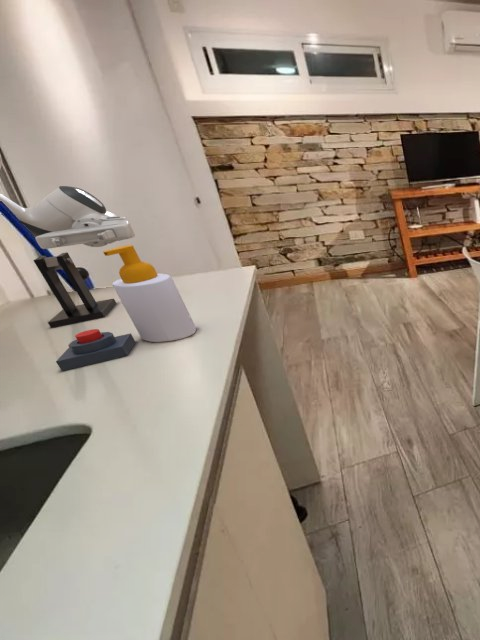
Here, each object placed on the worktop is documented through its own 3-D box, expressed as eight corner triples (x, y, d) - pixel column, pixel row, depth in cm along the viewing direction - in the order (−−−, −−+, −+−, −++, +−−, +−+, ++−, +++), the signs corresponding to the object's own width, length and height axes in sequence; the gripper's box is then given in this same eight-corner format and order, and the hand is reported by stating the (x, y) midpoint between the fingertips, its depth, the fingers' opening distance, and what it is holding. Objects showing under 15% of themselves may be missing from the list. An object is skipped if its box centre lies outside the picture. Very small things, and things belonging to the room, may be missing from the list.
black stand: (67, 313, 125) (32, 255, 118) (116, 303, 130) (85, 247, 123) (50, 328, 116) (11, 266, 109) (104, 317, 120) (69, 257, 113)
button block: (61, 371, 94) (50, 353, 92) (75, 356, 100) (64, 339, 98) (127, 355, 98) (117, 338, 96) (135, 342, 104) (126, 325, 103)
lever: (76, 283, 127) (71, 270, 127) (93, 280, 129) (89, 267, 129) (43, 270, 115) (38, 256, 115) (63, 267, 116) (59, 253, 116)
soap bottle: (129, 340, 106) (80, 251, 97) (168, 324, 113) (125, 241, 104) (170, 344, 102) (122, 253, 93) (208, 328, 109) (167, 241, 100)
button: (77, 346, 95) (72, 338, 94) (82, 339, 98) (78, 332, 97) (100, 341, 97) (96, 333, 96) (105, 334, 100) (101, 327, 99)
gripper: (41, 227, 138) (21, 235, 127) (131, 215, 147) (120, 222, 136) (53, 248, 140) (34, 258, 130) (141, 235, 150) (131, 244, 139)
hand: (79, 240), depth 133 cm, fingers open, 8 cm apart
